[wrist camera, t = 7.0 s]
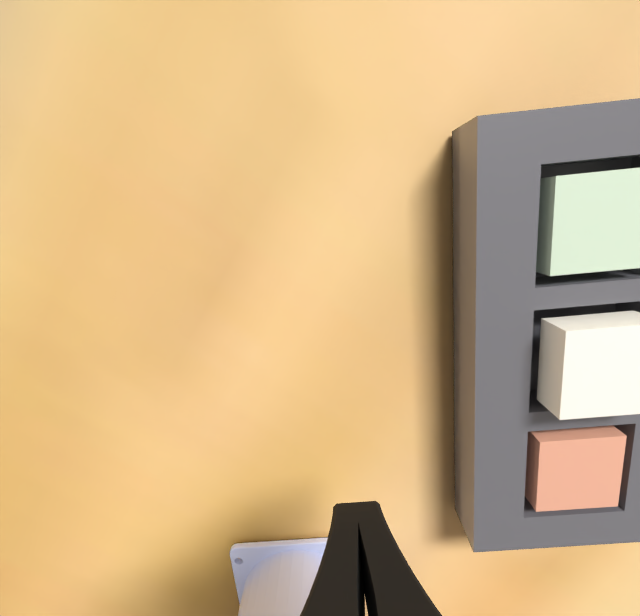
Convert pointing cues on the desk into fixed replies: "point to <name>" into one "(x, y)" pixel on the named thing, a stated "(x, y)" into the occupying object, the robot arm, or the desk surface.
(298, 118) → the desk surface
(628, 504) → the keypad
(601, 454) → the terracotta key
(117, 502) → the desk surface
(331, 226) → the desk surface
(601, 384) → the cream key
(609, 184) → the sage key
